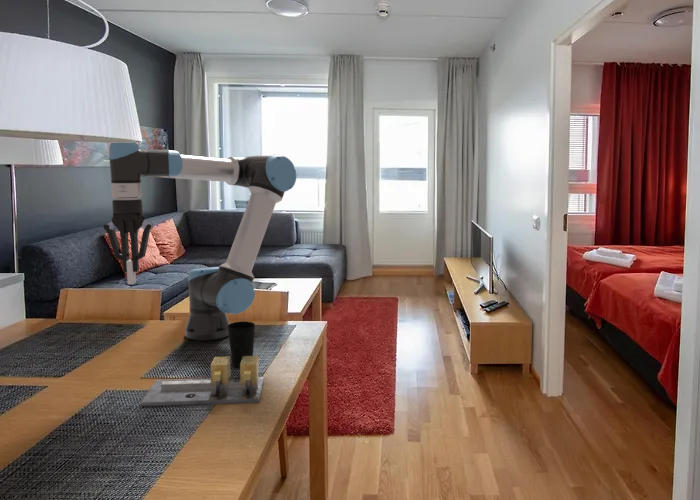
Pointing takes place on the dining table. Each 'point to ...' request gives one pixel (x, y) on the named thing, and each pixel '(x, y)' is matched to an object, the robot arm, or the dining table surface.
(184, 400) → the bolt plate
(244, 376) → the trammel bar
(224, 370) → the block
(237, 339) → the cup
